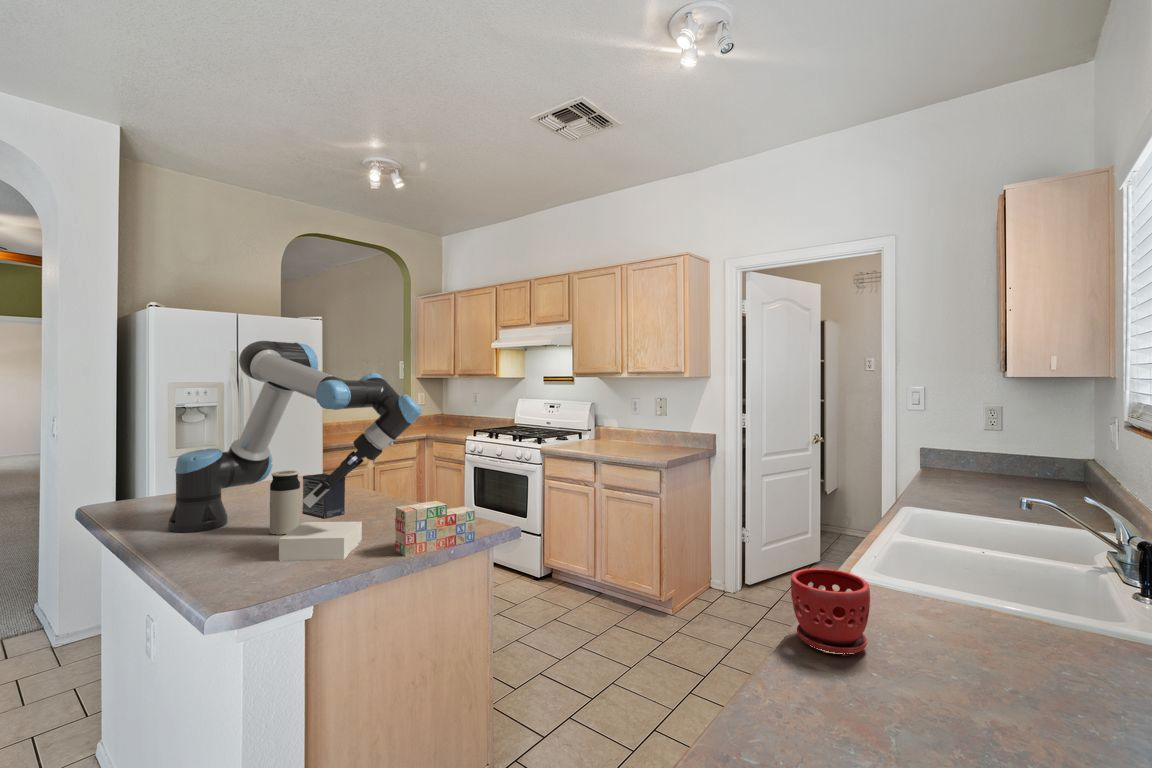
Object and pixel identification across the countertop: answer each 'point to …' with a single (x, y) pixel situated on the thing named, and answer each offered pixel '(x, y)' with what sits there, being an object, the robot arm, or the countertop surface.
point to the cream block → (320, 541)
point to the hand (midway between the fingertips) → (313, 499)
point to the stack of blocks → (432, 527)
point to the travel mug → (284, 502)
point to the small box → (324, 497)
